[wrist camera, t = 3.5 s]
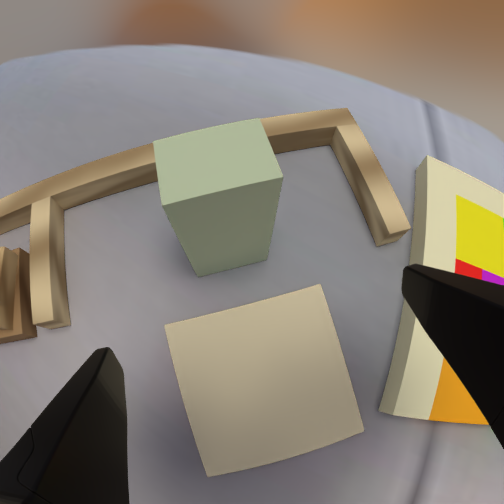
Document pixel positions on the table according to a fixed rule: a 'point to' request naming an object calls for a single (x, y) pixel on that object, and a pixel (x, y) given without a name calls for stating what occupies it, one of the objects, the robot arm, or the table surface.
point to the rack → (144, 171)
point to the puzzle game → (453, 260)
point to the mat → (263, 381)
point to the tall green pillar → (220, 193)
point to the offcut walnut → (21, 303)
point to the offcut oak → (7, 287)
